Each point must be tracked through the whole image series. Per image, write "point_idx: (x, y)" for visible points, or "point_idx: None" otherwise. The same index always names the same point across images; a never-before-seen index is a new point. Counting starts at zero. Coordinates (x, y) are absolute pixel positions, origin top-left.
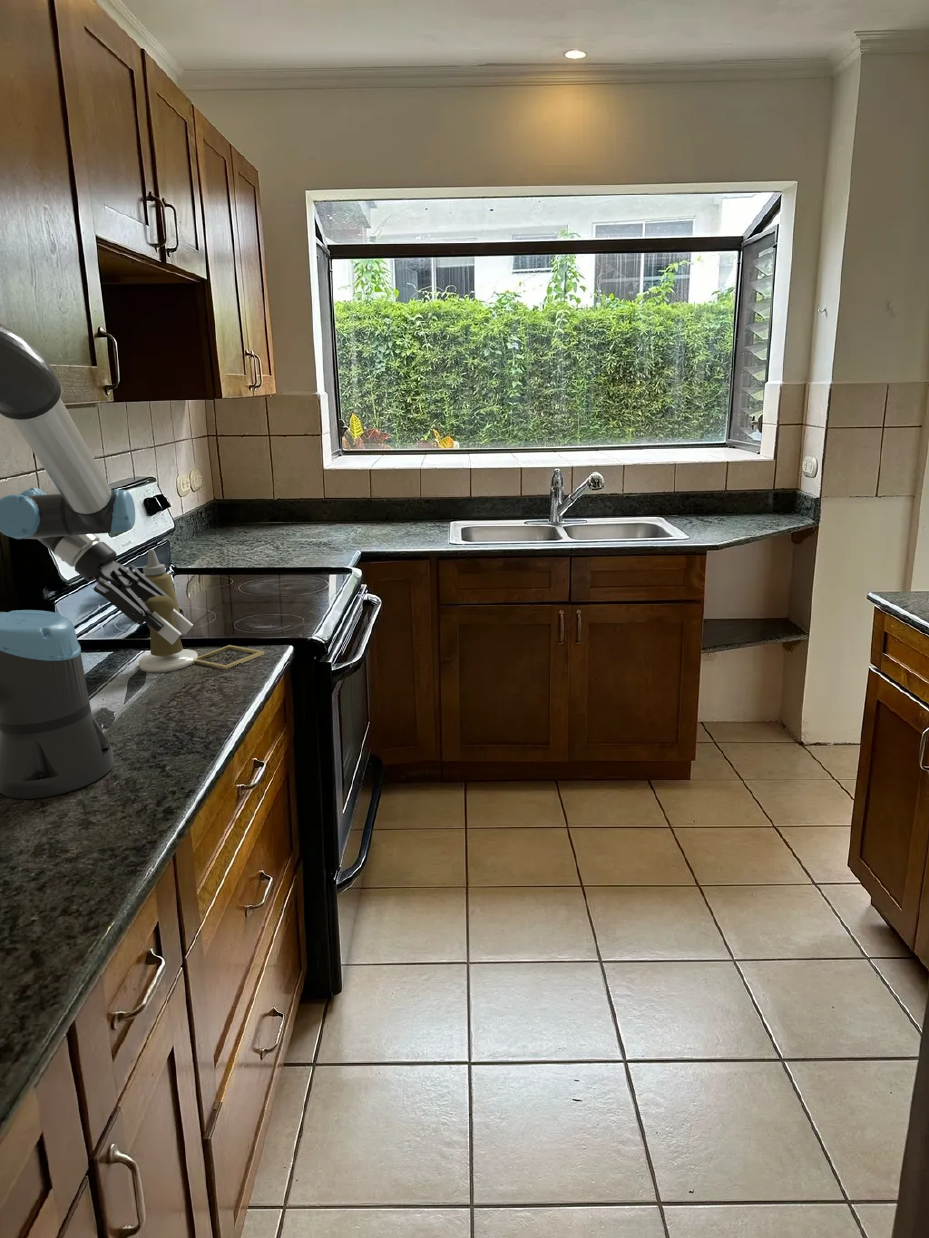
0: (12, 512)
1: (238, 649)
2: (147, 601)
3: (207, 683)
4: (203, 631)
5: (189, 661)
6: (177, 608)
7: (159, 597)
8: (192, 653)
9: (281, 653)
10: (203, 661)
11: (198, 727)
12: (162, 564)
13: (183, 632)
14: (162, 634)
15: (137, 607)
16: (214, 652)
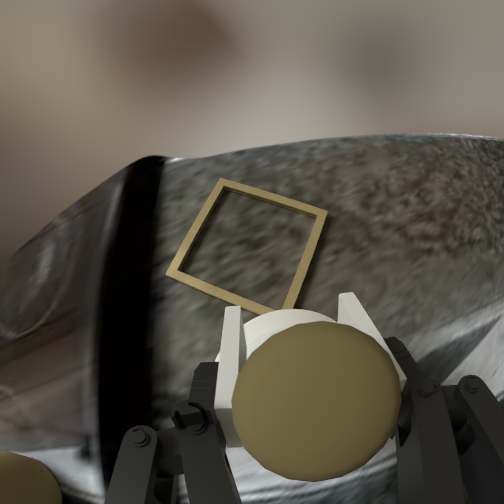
0: None
1: (193, 242)
2: (382, 446)
3: (401, 218)
4: (51, 393)
5: (312, 311)
6: (4, 453)
7: (345, 391)
8: (249, 335)
9: (217, 156)
10: (297, 280)
11: (498, 170)
12: None
13: (245, 346)
14: None
15: (484, 406)
16: (220, 288)
